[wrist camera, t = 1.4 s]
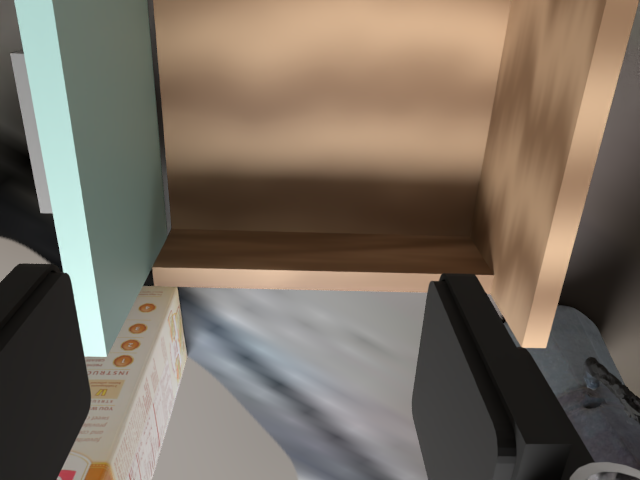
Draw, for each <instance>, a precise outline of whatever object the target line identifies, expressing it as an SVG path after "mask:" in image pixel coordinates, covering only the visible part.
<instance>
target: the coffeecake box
mask: <svg viewBox="0 0 640 480" xmlns="http://www.w3.org/2000/svg"><path fill="white" fill-rule="evenodd" d="M186 359H187V351H186V344H185V338H184V332H183V324H182V316H181V309H180V301H179V294H178V288H177V287H158V286H143V287H142V289H141V291H140V293H139V294H138V296H137V298H136V300H135V302H134V304H133V306H132V308H131V310H130V312H129V314H128V316H127V318H126V320H125V322H124V324H123V326H122V328H121V330H120V332H119V334H118V336H117V338H116V340H115V342H114V344H113V346H112V348H111V350H110V352H109V354H108V356H107V357H85V362H86V368H87V374H88V379H89V385H90V391H91V405H90V410H89V413H88V416H87V418H86V420H85V422H84V424H83V426H82V428H81V430H80V432H79V434H78V436H77V438H76V440H75V442H74V445H73V447H72V449H71V451H70V453H69V455H68V457H67V459H66V461H65V463H64V465H63V467H62V469H61V471H60V473H59V476H58V478H57V480H152V478H153V475H154V471H155V468H156V465H157V461H158V458H159V454H160V451H161V447H162V444H163V441H164V437H165V434H166V430H167V426H168V423H169V420H170V417H171V413H172V409H173V406H174V403H175V399H176V395H177V392H178V388H179V385H180V381H181V378H182V375H183V371H184V367H185V364H186Z"/></svg>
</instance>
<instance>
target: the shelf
mask: <svg viewBox="0 0 640 480" xmlns="http://www.w3.org/2000/svg"><path fill="white" fill-rule="evenodd" d="M638 3H639V0H153V5H154V17H155V30H156V42H157V54H158V67H159V79H160V91H161V104H162V116H163V128H164V141H165V153H166V165H167V178H168V190H169V202H170V215H171V227H172V229H171V231H170V233H169V235H168V237H167V239H166V241H165V243H164V245H163V247H162V249H161V251H160V253H159V255H158V257H157V259H156V260H155V262H154V264H153V266H152V272H153V282H154V286H158V287H204V288H249V289H295V290H340V291H386V292H428V287H429V283H430V282H431V281H439V279H440V276H441V275H442V273H459V274H475V275H476V276H477V278H478V280H479V282H480V283H481V285H482V287H483V289H484V290H485V292H486V294H491V296H492V297H493V299H494V301H495V303H496V304H497V306H498V308H499V310H500V311H501V313H502V315H503V316H504V318H505V320H506V322H507V323H508V325H509V327H510V329H511V330H512V332H513V334H514V335H515V337H516V339H517V341H518V342H519V344H520V346H521V347H523V348H546V346H547V342H548V339H549V335H550V331H551V327H552V324H553V320H554V316H555V312H556V309H557V305H558V301H559V297H560V294H561V290H562V286H563V283H564V279H565V275H566V271H567V268H568V264H569V260H570V256H571V253H572V249H573V245H574V242H575V238H576V234H577V230H578V227H579V223H580V219H581V215H582V212H583V208H584V204H585V200H586V197H587V193H588V189H589V186H590V182H591V178H592V174H593V171H594V167H595V163H596V159H597V156H598V152H599V148H600V144H601V141H602V137H603V133H604V130H605V126H606V122H607V118H608V115H609V111H610V107H611V103H612V100H613V96H614V92H615V88H616V85H617V81H618V77H619V74H620V70H621V66H622V62H623V59H624V55H625V51H626V47H627V44H628V40H629V36H630V32H631V29H632V25H633V21H634V18H635V14H636V10H637V6H638Z"/></svg>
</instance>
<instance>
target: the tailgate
mask: <svg viewBox="0 0 640 480" xmlns="http://www.w3.org/2000/svg"><path fill="white" fill-rule="evenodd" d="M14 2H15V7H16V13H17V18H18V24H19V29H20V35H21V40H22V46H23V50H20V51H16V52H13V53H10V56H11V61H12V67H13V72H14V77H15V82H16V87H17V93H18V98H19V103H20V108H21V114H22V119H23V124H24V129H25V135H26V140H27V145H28V150H29V155H30V161H31V166H32V171H33V176H34V182H35V187H36V192H37V197H38V203H39V208H40V213H53V217H54V223H55V229H56V234H57V240H58V245H59V251H60V256H61V262H62V267H63V273H67V274H69V276H70V279H71V283H72V288H73V294H74V300H75V305H76V311H77V317H78V322H79V328H80V334H81V339H82V345H83V351H84V356H85V357H107V356H108V354H109V352H110V350H111V348H112V346H113V344H114V342H115V340H116V338H117V336H118V334H119V332H120V330H121V328H122V326H123V324H124V322H125V320H126V318H127V316H128V314H129V312H130V310H131V308H132V306H133V304H134V302H135V300H136V298H137V296H138V294H139V293H140V291H141V289H142V287H143V285H144V283H145V281H146V279H147V277H148V275H149V273H150V271H151V269H152V266H153V264H154V262H155V260H156V259H157V257H158V255H159V253H160V251H161V249H162V247H163V245H164V243H165V241H166V239H167V225H166V214H165V202H164V190H163V179H162V167H161V155H160V143H159V132H158V120H157V108H156V96H155V85H154V73H153V61H152V50H151V38H150V26H149V14H148V3H147V0H14Z"/></svg>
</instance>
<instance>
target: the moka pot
mask: <svg viewBox="0 0 640 480" xmlns="http://www.w3.org/2000/svg"><path fill="white" fill-rule="evenodd" d="M503 324H504V325H505V327H506V329H507V331H508V333H509V334H510V336H511V338H512V340H513V341H514V343H515V345H516V347H521V346H520V344H519V342H518V341H517V339H516V337H515V335H514V334H513V332H512V330H511V329H510V327H509V325H508V323H507V322H505V323H503ZM526 349H527V350H528V352H529V353H530V354H531V355H532V357H533V359H534V360H535V362H536V364H537V366H538V367H539V369H540V371H541V372H542V374H543V376H544V377H545V379H546V381H547V382H548V384H549V386H550V387H551V389H552V391H553V392H554V394H555V396H556V397H557V399H558V401H559V402H560V404H561V406H562V408H563V409H564V411H565V413H566V414H567V416H568V418H569V419H570V421H571V423H572V424H573V426H574V428H575V429H576V431H577V433H578V434H579V436H580V438H581V439H582V441H583V443H584V444H585V446H586V448H587V450H588V451H589V453H590V455H591V456H592V458H593V460H594V461H595V463H598V462H610V463H616V464H621V465H626V466H629V467H631V468H634V469H637V470H639V471H640V398H639V397H638V396H635V395H634V394H633V393H632V392H631V391H630V390H629V389H628V387H626V386H625V384H624V382H623V380H622V378H621V376H620V374H619V371H618V370H617V368H616V366H615V364H614V362H613V360H612V358H611V356H610V353H609V351H608V349H607V347H606V345H605V343H604V341H603V339H602V337H601V334H600V332H599V330H598V328H597V326H596V325H595V324H594V323H593V322H592V321H591V320H590V319H589V318H588V317H587V316H585V315H584V314H583V313H581V312H580V311H578V310H576V309H575V308H572V307H568V306H563V305H557V309H556V312H555V316H554V320H553V324H552V327H551V331H550V335H549V339H548V342H547V346H546V348H526Z"/></svg>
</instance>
